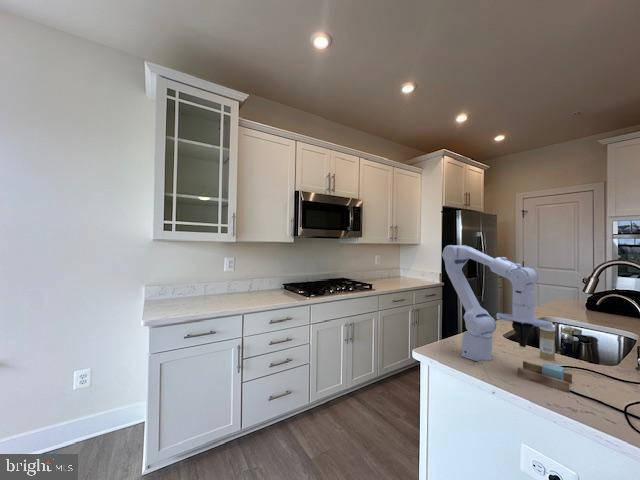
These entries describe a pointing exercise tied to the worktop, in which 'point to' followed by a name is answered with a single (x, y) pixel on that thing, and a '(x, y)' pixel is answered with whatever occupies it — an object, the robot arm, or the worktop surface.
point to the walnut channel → (544, 377)
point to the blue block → (553, 371)
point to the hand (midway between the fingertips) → (522, 346)
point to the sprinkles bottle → (547, 343)
